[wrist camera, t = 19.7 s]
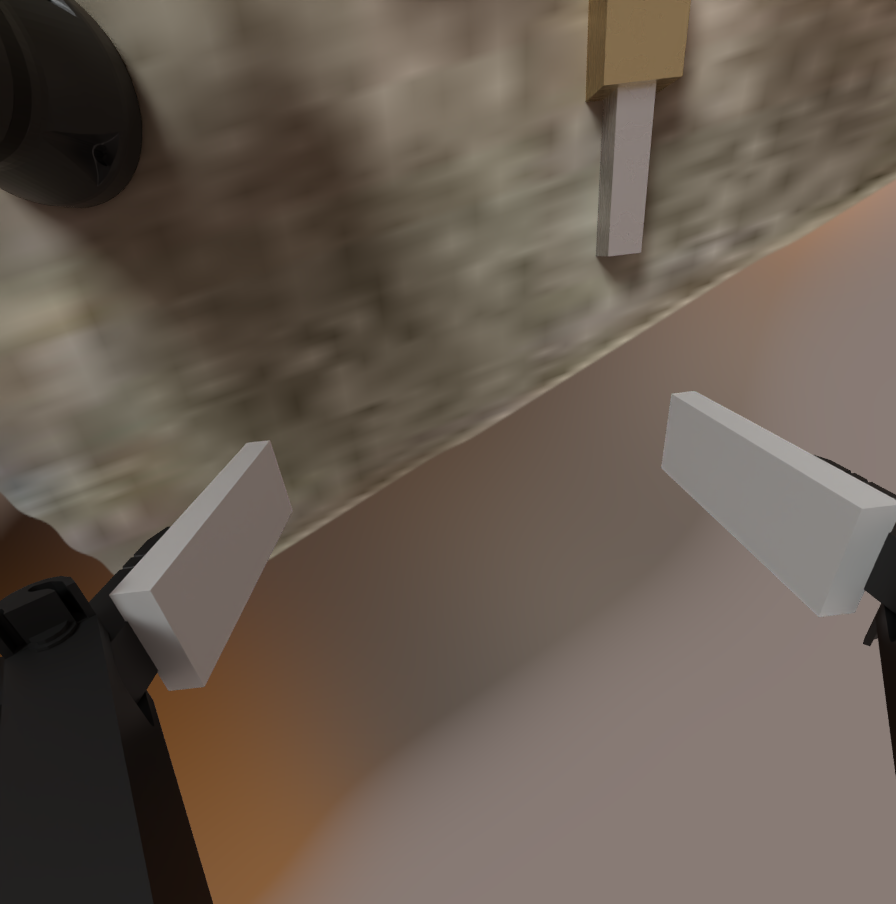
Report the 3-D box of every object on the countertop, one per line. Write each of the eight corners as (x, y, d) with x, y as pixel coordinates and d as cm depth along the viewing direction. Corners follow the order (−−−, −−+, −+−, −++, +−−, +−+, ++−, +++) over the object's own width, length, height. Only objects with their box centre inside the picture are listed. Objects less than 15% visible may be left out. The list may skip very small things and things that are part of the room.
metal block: (580, 257, 41) (595, 258, 37) (589, -31, 32) (610, -67, 28) (642, 250, 41) (663, 250, 37) (668, -41, 32) (699, -77, 28)
